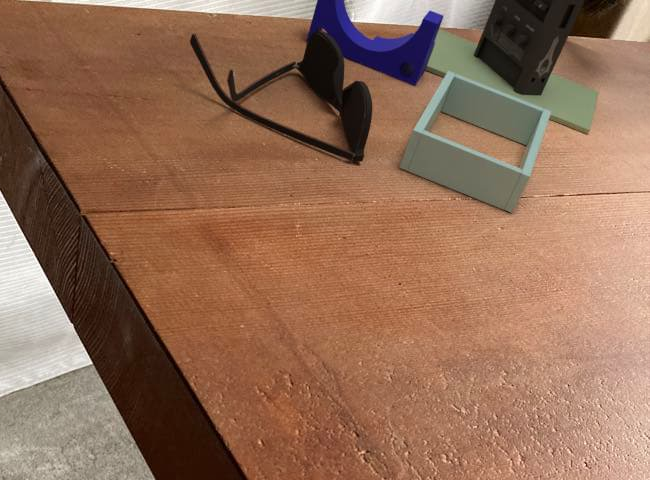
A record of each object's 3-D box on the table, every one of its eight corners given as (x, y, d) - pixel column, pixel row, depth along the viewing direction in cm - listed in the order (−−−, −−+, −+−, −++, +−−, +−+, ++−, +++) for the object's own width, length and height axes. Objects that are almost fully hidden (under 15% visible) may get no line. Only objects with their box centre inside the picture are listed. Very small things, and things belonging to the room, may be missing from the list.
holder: (535, 145, 96) (551, 111, 93) (512, 213, 85) (530, 176, 82) (434, 105, 97) (448, 70, 94) (398, 167, 85) (413, 129, 83)
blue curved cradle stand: (424, 71, 102) (446, 11, 98) (415, 85, 99) (437, 24, 94) (318, 29, 103) (336, -32, 98) (306, 41, 100) (323, -22, 95)
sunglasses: (169, 56, 89) (179, -1, 86) (312, 74, 95) (328, 20, 91) (216, 152, 79) (229, 91, 76) (374, 166, 85) (394, 110, 81)
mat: (597, 96, 109) (599, 91, 109) (587, 134, 101) (590, 129, 101) (430, 30, 111) (432, 26, 110) (407, 63, 102) (409, 58, 102)
